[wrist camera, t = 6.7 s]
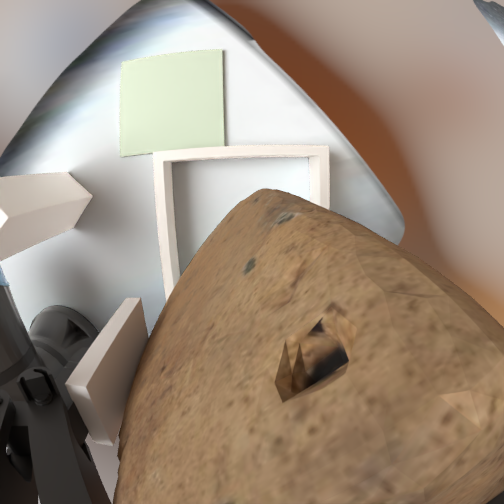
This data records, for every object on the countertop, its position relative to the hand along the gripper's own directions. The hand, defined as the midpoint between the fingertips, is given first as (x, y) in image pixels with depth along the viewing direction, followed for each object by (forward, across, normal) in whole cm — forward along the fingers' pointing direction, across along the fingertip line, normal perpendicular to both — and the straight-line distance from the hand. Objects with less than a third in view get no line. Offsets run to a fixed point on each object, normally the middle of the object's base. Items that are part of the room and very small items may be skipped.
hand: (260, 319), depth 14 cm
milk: (+27, -25, +5) cm, 37 cm away
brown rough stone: (+8, 0, 0) cm, 8 cm away
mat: (+27, -9, +17) cm, 33 cm away
